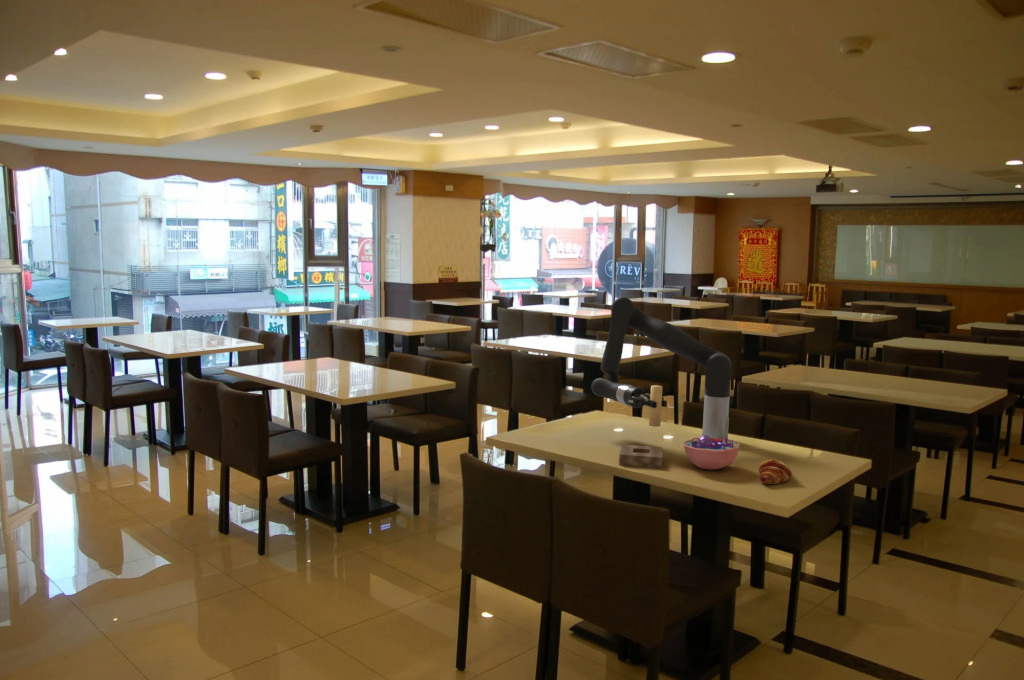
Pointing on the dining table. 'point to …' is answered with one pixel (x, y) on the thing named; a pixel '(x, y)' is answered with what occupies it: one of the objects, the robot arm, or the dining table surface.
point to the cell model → (711, 452)
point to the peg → (656, 412)
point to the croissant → (774, 472)
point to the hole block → (640, 456)
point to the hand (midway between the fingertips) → (660, 404)
